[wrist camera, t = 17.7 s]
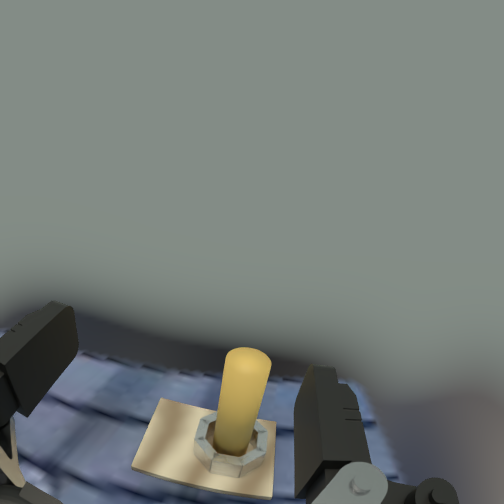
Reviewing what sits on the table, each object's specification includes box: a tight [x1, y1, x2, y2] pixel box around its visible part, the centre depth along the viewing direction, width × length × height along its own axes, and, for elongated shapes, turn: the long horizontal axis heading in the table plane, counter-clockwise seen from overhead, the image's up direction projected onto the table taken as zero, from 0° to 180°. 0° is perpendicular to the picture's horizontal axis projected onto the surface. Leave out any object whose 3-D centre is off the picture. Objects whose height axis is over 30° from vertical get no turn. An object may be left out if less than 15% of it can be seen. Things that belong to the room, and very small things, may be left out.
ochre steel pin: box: [212, 347, 271, 457], centre depth 31 cm, size 4×4×16 cm
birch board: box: [131, 398, 276, 500], centre depth 34 cm, size 17×13×1 cm
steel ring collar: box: [193, 412, 268, 478], centre depth 33 cm, size 9×9×4 cm
